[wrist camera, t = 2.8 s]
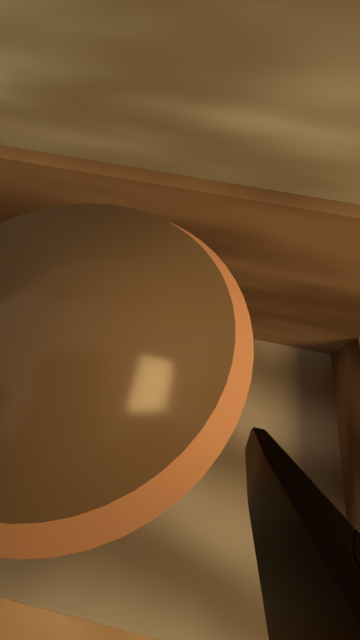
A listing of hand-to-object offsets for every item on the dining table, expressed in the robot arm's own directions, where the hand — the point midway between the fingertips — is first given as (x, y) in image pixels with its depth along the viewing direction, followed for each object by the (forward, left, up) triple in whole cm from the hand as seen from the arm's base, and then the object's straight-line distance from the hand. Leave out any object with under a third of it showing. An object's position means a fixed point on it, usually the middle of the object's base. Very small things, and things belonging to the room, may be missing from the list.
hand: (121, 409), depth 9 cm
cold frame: (0, 0, -9) cm, 9 cm away
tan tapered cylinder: (+1, 0, -8) cm, 8 cm away
